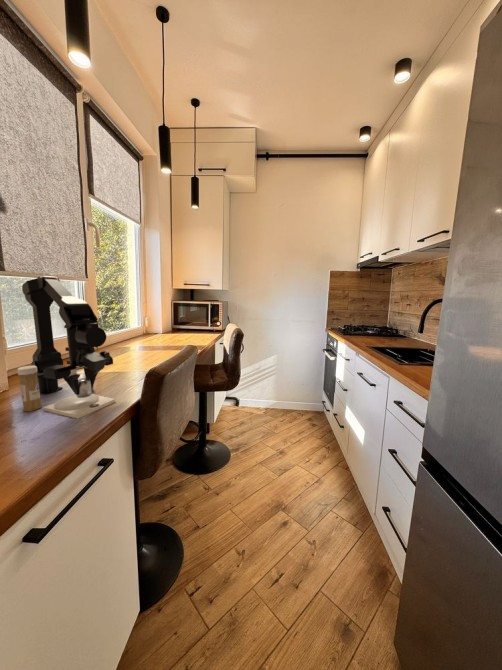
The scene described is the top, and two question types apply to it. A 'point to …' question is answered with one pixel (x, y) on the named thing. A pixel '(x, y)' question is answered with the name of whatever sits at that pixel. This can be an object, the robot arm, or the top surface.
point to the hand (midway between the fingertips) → (83, 392)
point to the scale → (79, 405)
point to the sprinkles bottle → (29, 388)
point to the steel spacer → (84, 388)
